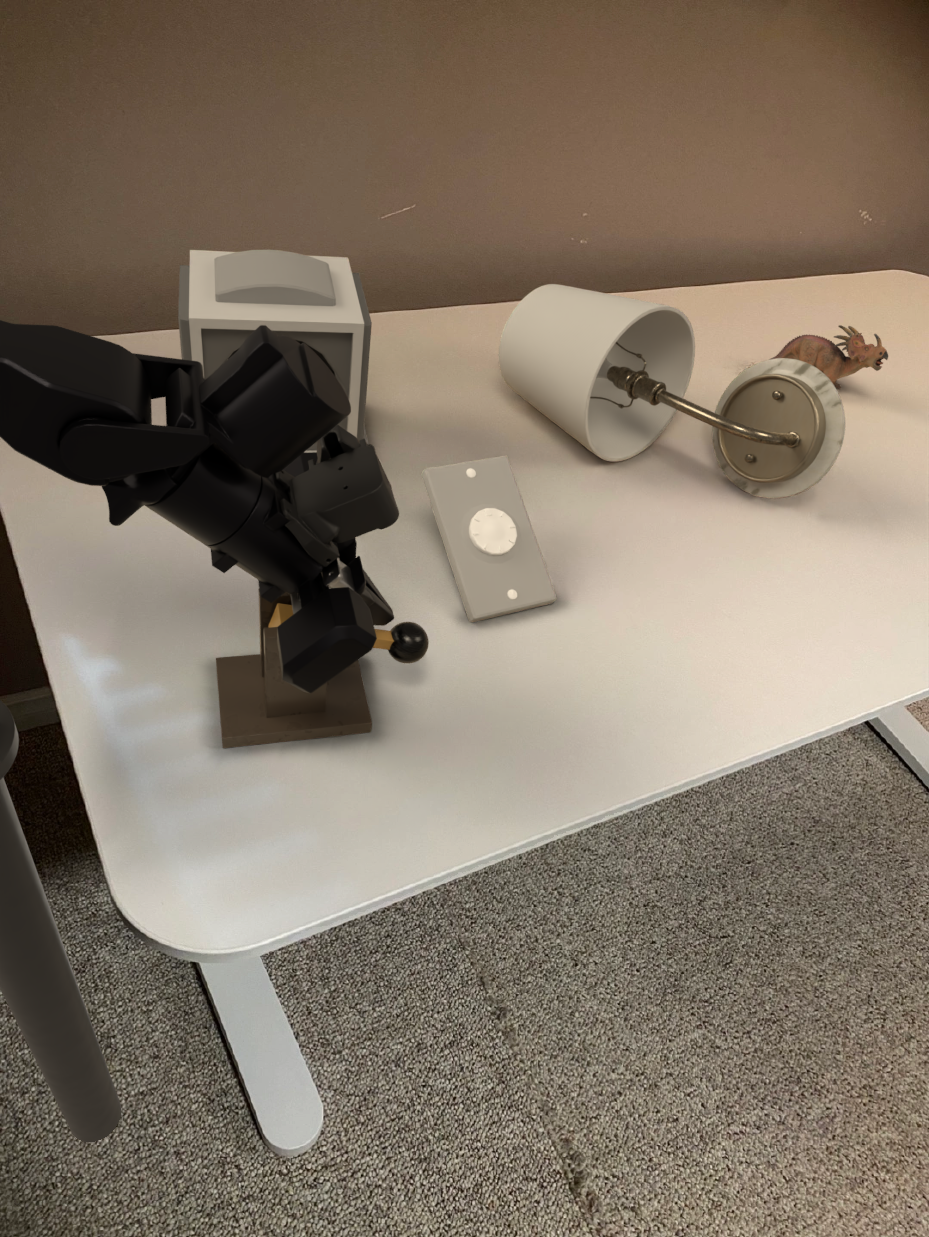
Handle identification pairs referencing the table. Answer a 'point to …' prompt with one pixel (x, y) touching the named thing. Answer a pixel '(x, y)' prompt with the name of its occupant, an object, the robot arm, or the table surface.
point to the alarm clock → (278, 313)
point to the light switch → (488, 537)
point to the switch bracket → (284, 696)
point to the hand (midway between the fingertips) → (389, 618)
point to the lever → (381, 637)
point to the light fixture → (665, 388)
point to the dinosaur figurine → (836, 353)
